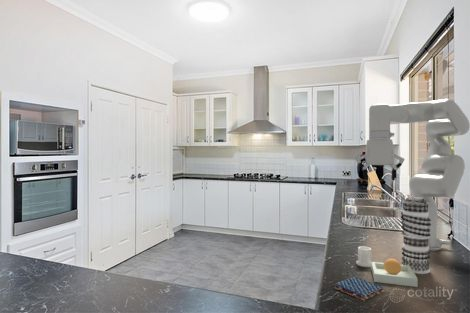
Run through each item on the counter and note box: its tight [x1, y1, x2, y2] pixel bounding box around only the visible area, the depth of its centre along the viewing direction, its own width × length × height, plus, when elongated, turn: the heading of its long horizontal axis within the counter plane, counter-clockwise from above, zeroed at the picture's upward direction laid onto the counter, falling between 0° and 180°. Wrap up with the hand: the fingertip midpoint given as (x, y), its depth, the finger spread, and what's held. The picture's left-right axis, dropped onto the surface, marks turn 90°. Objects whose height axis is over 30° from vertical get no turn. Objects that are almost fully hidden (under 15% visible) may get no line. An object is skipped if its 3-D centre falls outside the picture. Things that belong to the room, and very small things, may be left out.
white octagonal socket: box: [355, 245, 372, 268], centre depth 115 cm, size 6×6×6 cm
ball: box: [383, 258, 402, 275], centre depth 103 cm, size 5×5×5 cm
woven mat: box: [334, 276, 384, 301], centre depth 93 cm, size 10×11×2 cm
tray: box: [370, 261, 419, 288], centre depth 103 cm, size 12×12×2 cm
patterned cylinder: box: [400, 196, 431, 275], centre depth 110 cm, size 9×9×25 cm
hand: (379, 179), depth 123 cm, fingers open, 9 cm apart
